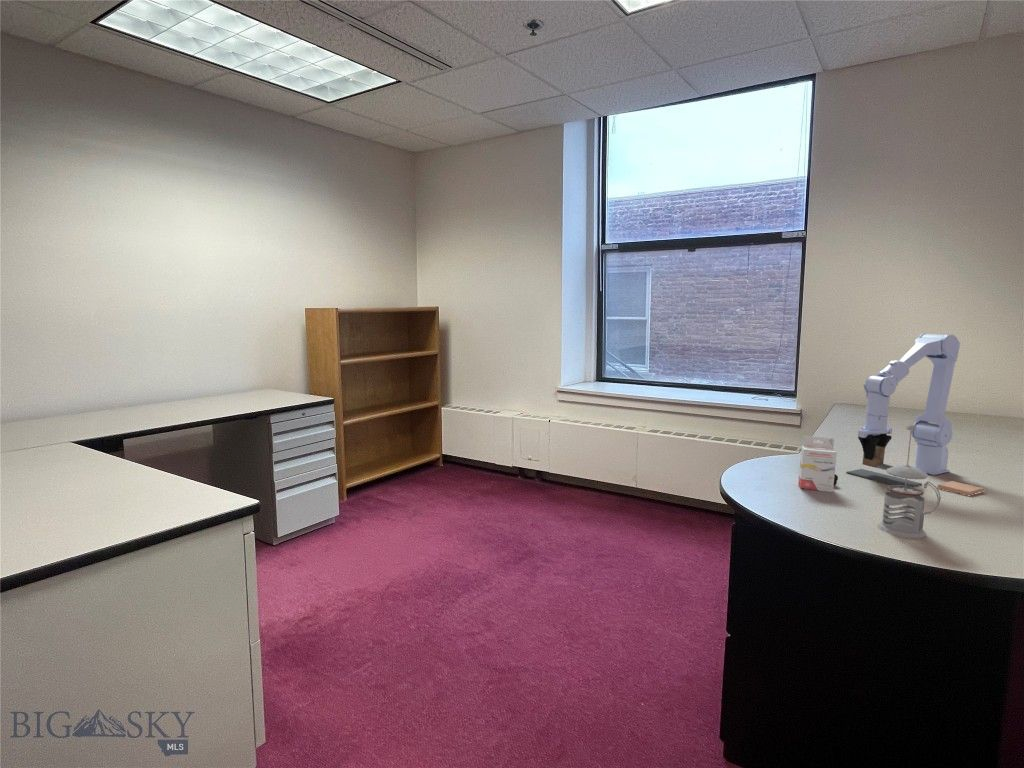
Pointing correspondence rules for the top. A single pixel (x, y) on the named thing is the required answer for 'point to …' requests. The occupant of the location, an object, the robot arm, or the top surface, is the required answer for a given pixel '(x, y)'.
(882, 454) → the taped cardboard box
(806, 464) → the ink cartridge box
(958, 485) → the tile
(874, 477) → the tool mat
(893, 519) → the french press
